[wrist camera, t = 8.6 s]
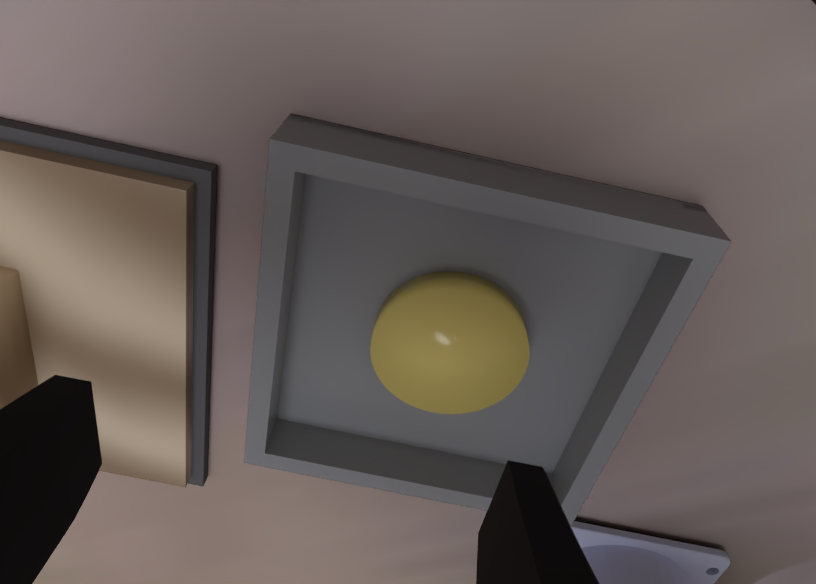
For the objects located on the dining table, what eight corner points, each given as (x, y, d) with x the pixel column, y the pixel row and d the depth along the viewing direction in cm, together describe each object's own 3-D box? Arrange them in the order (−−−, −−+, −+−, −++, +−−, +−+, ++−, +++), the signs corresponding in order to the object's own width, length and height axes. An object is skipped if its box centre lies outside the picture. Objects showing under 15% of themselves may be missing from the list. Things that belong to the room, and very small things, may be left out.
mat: (207, 476, 25) (203, 486, 25) (-133, 410, 25) (-144, 419, 24) (217, 165, 18) (211, 171, 17) (-273, 57, 17) (-292, 61, 17)
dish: (561, 478, 24) (570, 527, 22) (261, 418, 23) (243, 462, 21) (702, 206, 17) (731, 241, 15) (290, 113, 17) (269, 138, 15)
